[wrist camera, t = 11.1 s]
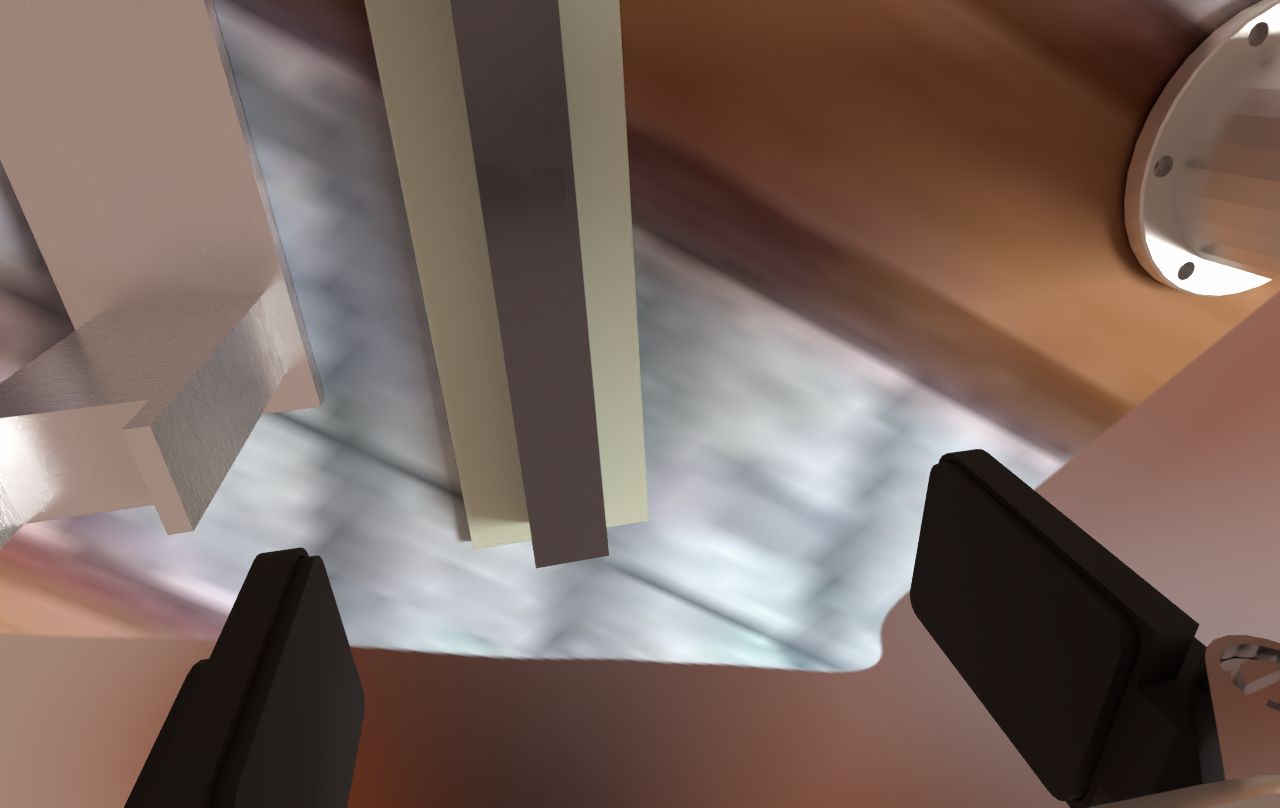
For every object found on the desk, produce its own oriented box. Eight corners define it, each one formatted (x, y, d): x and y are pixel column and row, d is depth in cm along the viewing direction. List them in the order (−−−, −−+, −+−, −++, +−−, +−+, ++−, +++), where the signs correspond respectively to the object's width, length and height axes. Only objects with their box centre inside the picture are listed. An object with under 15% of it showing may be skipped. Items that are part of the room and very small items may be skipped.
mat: (604, -186, 22) (608, -192, 21) (645, 513, 34) (648, 520, 33) (330, -185, 20) (326, -191, 20) (473, 541, 32) (473, 549, 32)
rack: (103, -385, 18) (-297, -850, 9) (324, 397, 28) (250, 571, 19) (-223, -396, 17) (-1084, -944, 8) (129, 422, 27) (-53, 621, 18)
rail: (533, -148, 21) (541, -178, 18) (597, 511, 32) (608, 555, 29) (430, -146, 21) (423, -177, 18) (530, 522, 32) (536, 568, 29)
